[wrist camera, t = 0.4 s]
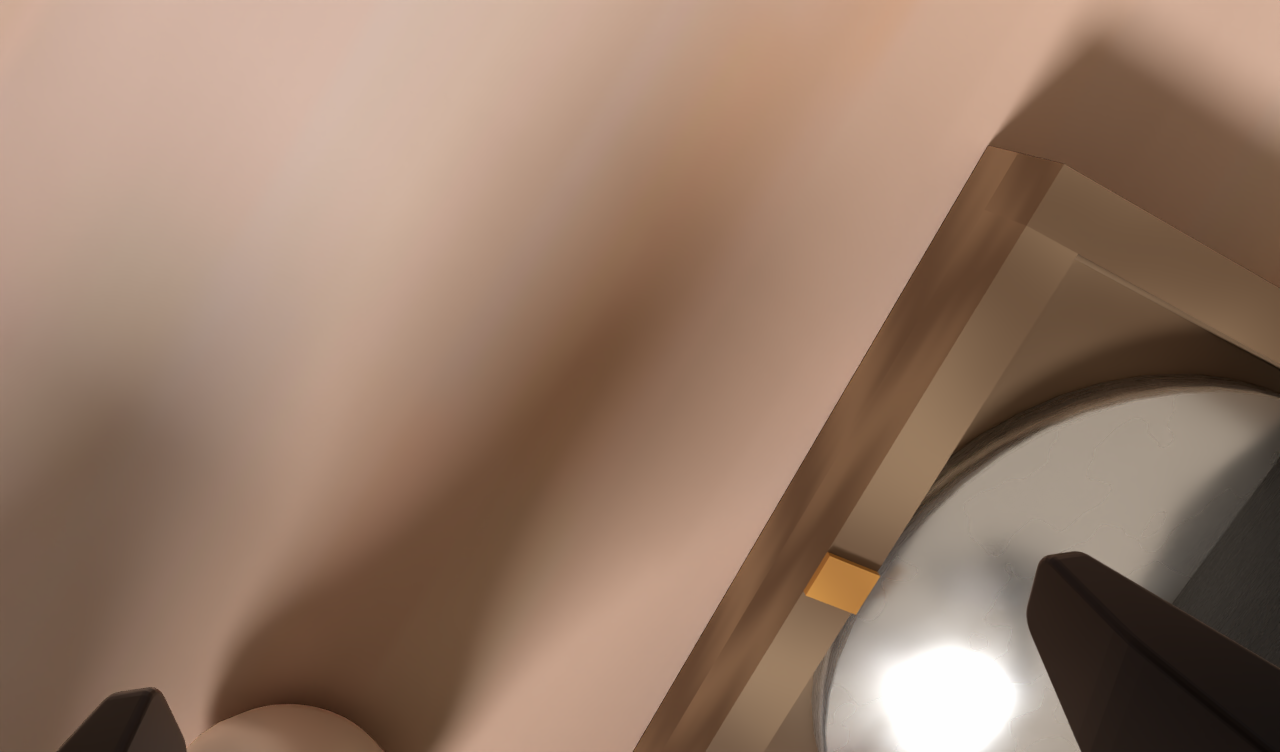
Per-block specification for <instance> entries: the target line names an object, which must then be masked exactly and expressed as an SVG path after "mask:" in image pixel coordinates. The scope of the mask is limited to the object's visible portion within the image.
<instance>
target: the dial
mask: <svg viewBox="0 0 1280 752" xmlns="http://www.w3.org/2000/svg"><path fill="white" fill-rule="evenodd" d="M1071 551H1079V552H1083V553H1085V554H1088V555H1090V556H1091V557H1093V558H1095V559H1096V560H1098V561H1100V562H1101V563H1103V564H1105V565H1107V566H1108V567H1110V568H1112V569H1113V570H1115V571H1117V572H1118V573H1120V574H1122V575H1123V576H1125V577H1127V578H1128V579H1130V580H1132V581H1134V582H1135V583H1137V584H1139V585H1140V586H1142V587H1144V588H1145V589H1147V590H1149V591H1150V592H1152V593H1154V594H1155V595H1157V596H1159V597H1161V598H1162V599H1164V600H1166V601H1167V602H1169V603H1171V604H1172V605H1174V606H1176V607H1177V608H1179V609H1181V610H1183V611H1184V612H1186V613H1188V614H1189V615H1191V616H1193V617H1194V618H1196V619H1198V620H1199V621H1201V622H1203V623H1204V624H1206V625H1208V626H1210V627H1211V628H1213V629H1215V630H1216V631H1218V632H1220V633H1221V634H1223V635H1225V636H1226V637H1228V638H1230V639H1231V640H1233V641H1235V642H1237V643H1238V644H1240V645H1242V646H1243V647H1245V648H1247V649H1248V650H1250V651H1252V652H1253V653H1255V654H1257V655H1259V656H1260V657H1262V658H1264V659H1265V660H1267V661H1269V662H1270V663H1272V664H1274V665H1275V666H1277V667H1279V668H1280V394H1279V393H1276V392H1274V391H1272V390H1269V389H1267V388H1265V387H1262V386H1258V385H1254V384H1250V383H1246V382H1242V381H1239V380H1235V379H1231V378H1227V377H1217V376H1207V375H1196V374H1165V375H1145V376H1139V377H1133V378H1127V379H1121V380H1115V381H1109V382H1103V383H1100V384H1097V385H1093V386H1090V387H1086V388H1083V389H1080V390H1076V391H1073V392H1070V393H1066V394H1063V395H1060V396H1058V397H1055V398H1053V399H1051V400H1048V401H1046V402H1044V403H1041V404H1039V405H1036V406H1034V407H1032V408H1029V409H1027V410H1025V411H1022V412H1020V413H1018V414H1016V415H1015V416H1013V417H1011V418H1009V419H1007V420H1006V421H1004V422H1002V423H1000V424H999V425H997V426H995V427H993V428H991V429H990V430H988V431H986V432H984V433H983V434H981V435H979V436H978V437H976V438H975V439H974V440H972V441H971V442H969V443H968V444H967V445H965V446H964V447H962V448H961V449H960V450H958V451H957V452H955V453H954V454H953V455H951V456H950V458H949V459H948V461H947V463H946V464H945V466H944V467H943V469H942V470H941V472H940V474H939V475H938V477H937V478H936V480H935V482H934V483H933V485H932V486H931V488H930V489H929V491H928V493H927V494H926V496H925V497H924V499H923V501H922V502H921V504H920V505H919V507H918V508H917V510H916V512H915V513H914V515H913V516H912V518H911V520H910V521H909V523H908V524H907V526H906V527H905V529H904V531H903V532H902V534H901V535H900V537H899V539H898V540H897V542H896V543H895V545H894V547H893V548H892V550H891V551H890V553H889V554H888V556H887V558H886V559H885V561H884V562H883V564H882V566H881V567H880V569H879V570H878V573H879V575H880V578H879V579H878V581H877V582H876V584H875V586H874V587H873V589H872V590H871V592H870V593H869V595H868V597H867V598H866V600H865V601H864V603H863V604H862V606H861V608H860V609H859V611H858V612H857V614H856V615H855V614H852V613H851V615H850V616H849V618H848V619H847V621H846V623H845V624H844V626H843V627H842V629H841V630H840V632H839V634H838V635H837V637H836V638H835V640H834V642H833V643H832V645H831V646H830V648H829V649H828V651H827V653H826V654H825V656H824V657H823V659H822V661H821V662H820V664H819V665H818V667H817V669H816V670H815V672H814V675H813V687H812V698H811V702H812V716H813V731H814V736H815V740H816V745H817V749H818V752H1081V750H1080V748H1079V746H1078V744H1077V742H1076V739H1075V737H1074V735H1073V732H1072V730H1071V728H1070V725H1069V723H1068V721H1067V718H1066V716H1065V713H1064V711H1063V709H1062V706H1061V704H1060V702H1059V699H1058V697H1057V695H1056V692H1055V690H1054V688H1053V685H1052V683H1051V681H1050V678H1049V676H1048V674H1047V671H1046V669H1045V667H1044V664H1043V662H1042V660H1041V657H1040V655H1039V653H1038V650H1037V648H1036V646H1035V643H1034V641H1033V639H1032V636H1031V634H1030V631H1029V628H1028V624H1027V618H1026V610H1027V604H1028V601H1029V597H1030V593H1031V589H1032V585H1033V581H1034V578H1035V574H1036V570H1037V566H1038V563H1039V561H1040V560H1041V559H1042V558H1043V557H1044V556H1047V555H1051V554H1058V553H1065V552H1071Z"/></svg>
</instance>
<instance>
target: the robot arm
mask: <svg viewBox="0 0 1280 752" xmlns="http://www.w3.org/2000/svg"><path fill="white" fill-rule="evenodd" d="M1026 618H1027V624H1028V628H1029V631H1030V634H1031V636H1032V639H1033V641H1034V643H1035V646H1036V648H1037V650H1038V653H1039V655H1040V657H1041V660H1042V662H1043V664H1044V667H1045V669H1046V671H1047V674H1048V676H1049V678H1050V681H1051V683H1052V685H1053V688H1054V690H1055V692H1056V695H1057V697H1058V699H1059V702H1060V704H1061V706H1062V709H1063V711H1064V713H1065V716H1066V718H1067V721H1068V723H1069V725H1070V728H1071V730H1072V732H1073V735H1074V737H1075V739H1076V742H1077V744H1078V746H1079V748H1080V750H1081V752H1280V668H1279V667H1277V666H1275V665H1274V664H1272V663H1270V662H1269V661H1267V660H1265V659H1264V658H1262V657H1260V656H1259V655H1257V654H1255V653H1253V652H1252V651H1250V650H1248V649H1247V648H1245V647H1243V646H1242V645H1240V644H1238V643H1237V642H1235V641H1233V640H1231V639H1230V638H1228V637H1226V636H1225V635H1223V634H1221V633H1220V632H1218V631H1216V630H1215V629H1213V628H1211V627H1210V626H1208V625H1206V624H1204V623H1203V622H1201V621H1199V620H1198V619H1196V618H1194V617H1193V616H1191V615H1189V614H1188V613H1186V612H1184V611H1183V610H1181V609H1179V608H1177V607H1176V606H1174V605H1172V604H1171V603H1169V602H1167V601H1166V600H1164V599H1162V598H1161V597H1159V596H1157V595H1155V594H1154V593H1152V592H1150V591H1149V590H1147V589H1145V588H1144V587H1142V586H1140V585H1139V584H1137V583H1135V582H1134V581H1132V580H1130V579H1128V578H1127V577H1125V576H1123V575H1122V574H1120V573H1118V572H1117V571H1115V570H1113V569H1112V568H1110V567H1108V566H1107V565H1105V564H1103V563H1101V562H1100V561H1098V560H1096V559H1095V558H1093V557H1091V556H1090V555H1088V554H1085V553H1083V552H1079V551H1071V552H1065V553H1058V554H1051V555H1047V556H1044V557H1043V558H1042V559H1041V560H1040V561H1039V563H1038V566H1037V570H1036V574H1035V578H1034V581H1033V585H1032V589H1031V593H1030V597H1029V601H1028V604H1027V610H1026ZM56 752H187V751H186V744H185V740H184V737H183V735H182V733H181V731H180V729H179V727H178V725H177V722H176V720H175V718H174V716H173V714H172V712H171V710H170V708H169V706H168V704H167V701H166V699H165V697H164V696H163V694H162V693H161V691H159V690H158V689H156V688H151V687H148V688H141V689H135V690H128V691H121V692H117V693H114V694H112V695H110V696H109V697H107V698H106V699H105V700H104V701H103V702H102V703H101V704H100V705H99V706H98V707H97V708H96V709H95V710H94V711H93V712H92V714H91V715H90V716H89V717H88V718H87V719H86V720H85V721H84V722H83V723H82V724H81V725H80V727H79V728H78V729H77V730H76V731H75V732H74V733H73V734H72V735H71V736H70V737H69V738H68V739H67V741H66V742H65V743H64V744H63V745H62V746H61V747H60V748H59V749H58V750H57V751H56Z"/></svg>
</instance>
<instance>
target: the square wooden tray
mask: <svg viewBox="0 0 1280 752" xmlns="http://www.w3.org/2000/svg"><path fill="white" fill-rule="evenodd" d="M1165 374H1196V375H1207V376H1217V377H1227V378H1231V379H1235V380H1239V381H1242V382H1246V383H1250V384H1254V385H1258V386H1262V387H1265V388H1267V389H1269V390H1272V391H1274V392H1276V393H1279V394H1280V288H1279V287H1277V286H1275V285H1274V284H1272V283H1270V282H1268V281H1267V280H1265V279H1263V278H1262V277H1260V276H1258V275H1256V274H1255V273H1253V272H1251V271H1249V270H1248V269H1246V268H1244V267H1242V266H1241V265H1239V264H1237V263H1236V262H1234V261H1232V260H1230V259H1229V258H1227V257H1225V256H1223V255H1222V254H1220V253H1218V252H1216V251H1215V250H1213V249H1211V248H1210V247H1208V246H1206V245H1204V244H1203V243H1201V242H1199V241H1197V240H1196V239H1194V238H1192V237H1190V236H1189V235H1187V234H1185V233H1183V232H1182V231H1180V230H1178V229H1177V228H1175V227H1173V226H1171V225H1170V224H1168V223H1166V222H1164V221H1163V220H1161V219H1159V218H1157V217H1156V216H1154V215H1152V214H1151V213H1149V212H1147V211H1145V210H1144V209H1142V208H1140V207H1138V206H1137V205H1135V204H1133V203H1131V202H1130V201H1128V200H1126V199H1125V198H1123V197H1121V196H1119V195H1118V194H1116V193H1114V192H1112V191H1111V190H1109V189H1107V188H1105V187H1104V186H1102V185H1100V184H1099V183H1097V182H1095V181H1093V180H1092V179H1090V178H1088V177H1086V176H1085V175H1083V174H1081V173H1079V172H1078V171H1076V170H1074V169H1073V168H1071V167H1069V166H1067V165H1066V164H1063V163H1059V162H1055V161H1051V160H1047V159H1042V158H1038V157H1034V156H1030V155H1026V154H1022V153H1017V152H1013V151H1009V150H1005V149H1001V148H997V147H992V146H988V147H987V149H986V151H985V152H984V154H983V156H982V157H981V159H980V161H979V162H978V164H977V166H976V168H975V169H974V171H973V173H972V174H971V176H970V178H969V180H968V181H967V183H966V185H965V186H964V188H963V190H962V191H961V193H960V195H959V197H958V198H957V200H956V202H955V203H954V205H953V207H952V209H951V210H950V212H949V214H948V215H947V217H946V219H945V221H944V222H943V224H942V226H941V227H940V229H939V231H938V232H937V234H936V236H935V238H934V239H933V241H932V243H931V244H930V246H929V248H928V250H927V251H926V253H925V255H924V256H923V258H922V260H921V261H920V263H919V265H918V267H917V268H916V270H915V272H914V273H913V275H912V277H911V279H910V280H909V282H908V284H907V285H906V287H905V289H904V290H903V292H902V294H901V296H900V297H899V299H898V301H897V302H896V304H895V306H894V308H893V309H892V311H891V313H890V314H889V316H888V318H887V320H886V321H885V323H884V325H883V326H882V328H881V330H880V331H879V333H878V335H877V337H876V338H875V340H874V342H873V343H872V345H871V347H870V349H869V350H868V352H867V354H866V355H865V357H864V359H863V360H862V362H861V364H860V366H859V367H858V369H857V371H856V372H855V374H854V376H853V378H852V379H851V381H850V383H849V384H848V386H847V388H846V390H845V391H844V393H843V395H842V396H841V398H840V400H839V401H838V403H837V405H836V407H835V408H834V410H833V412H832V413H831V415H830V417H829V419H828V420H827V422H826V424H825V425H824V427H823V429H822V430H821V432H820V434H819V436H818V437H817V439H816V441H815V442H814V444H813V446H812V448H811V449H810V451H809V453H808V454H807V456H806V458H805V460H804V461H803V463H802V465H801V466H800V468H799V470H798V471H797V473H796V475H795V477H794V478H793V480H792V482H791V483H790V485H789V487H788V489H787V490H786V492H785V494H784V495H783V497H782V499H781V500H780V502H779V504H778V506H777V507H776V509H775V511H774V512H773V514H772V516H771V518H770V519H769V521H768V523H767V524H766V526H765V528H764V529H763V531H762V533H761V535H760V536H759V538H758V540H757V541H756V543H755V545H754V547H753V548H752V550H751V552H750V553H749V555H748V557H747V559H746V560H745V562H744V564H743V565H742V567H741V569H740V570H739V572H738V574H737V576H736V577H735V579H734V581H733V582H732V584H731V586H730V588H729V589H728V591H727V593H726V594H725V596H724V598H723V599H722V601H721V603H720V605H719V606H718V608H717V610H716V611H715V613H714V615H713V617H712V618H711V620H710V622H709V623H708V625H707V627H706V629H705V630H704V632H703V634H702V635H701V637H700V639H699V640H698V642H697V644H696V646H695V647H694V649H693V651H692V652H691V654H690V656H689V658H688V659H687V661H686V663H685V664H684V666H683V668H682V669H681V671H680V673H679V675H678V676H677V678H676V680H675V681H674V683H673V685H672V687H671V688H670V690H669V692H668V693H667V695H666V697H665V699H664V700H663V702H662V704H661V705H660V707H659V709H658V710H657V712H656V714H655V716H654V717H653V719H652V721H651V722H650V724H649V726H648V728H647V729H646V731H645V733H644V734H643V736H642V738H641V739H640V741H639V743H638V745H637V746H636V748H635V750H634V751H633V752H818V749H817V745H816V740H815V736H814V731H813V716H812V702H811V698H812V687H813V675H814V672H815V670H816V669H817V667H818V665H819V664H820V662H821V661H822V659H823V657H824V656H825V654H826V653H827V651H828V649H829V648H830V646H831V645H832V643H833V642H834V640H835V638H836V637H837V635H838V634H839V632H840V630H841V629H842V627H843V626H844V624H845V623H846V621H847V619H848V618H849V616H850V615H851V613H852V614H855V615H856V614H857V612H858V611H859V609H860V608H861V606H862V604H863V603H864V601H865V600H866V598H867V597H868V595H869V593H870V592H871V590H872V589H873V587H874V586H875V584H876V582H877V581H878V579H879V578H880V575H879V573H878V570H879V569H880V567H881V566H882V564H883V562H884V561H885V559H886V558H887V556H888V554H889V553H890V551H891V550H892V548H893V547H894V545H895V543H896V542H897V540H898V539H899V537H900V535H901V534H902V532H903V531H904V529H905V527H906V526H907V524H908V523H909V521H910V520H911V518H912V516H913V515H914V513H915V512H916V510H917V508H918V507H919V505H920V504H921V502H922V501H923V499H924V497H925V496H926V494H927V493H928V491H929V489H930V488H931V486H932V485H933V483H934V482H935V480H936V478H937V477H938V475H939V474H940V472H941V470H942V469H943V467H944V466H945V464H946V463H947V461H948V459H949V458H950V456H951V455H953V454H954V453H955V452H957V451H958V450H960V449H961V448H962V447H964V446H965V445H967V444H968V443H969V442H971V441H972V440H974V439H975V438H976V437H978V436H979V435H981V434H983V433H984V432H986V431H988V430H990V429H991V428H993V427H995V426H997V425H999V424H1000V423H1002V422H1004V421H1006V420H1007V419H1009V418H1011V417H1013V416H1015V415H1016V414H1018V413H1020V412H1022V411H1025V410H1027V409H1029V408H1032V407H1034V406H1036V405H1039V404H1041V403H1044V402H1046V401H1048V400H1051V399H1053V398H1055V397H1058V396H1060V395H1063V394H1066V393H1070V392H1073V391H1076V390H1080V389H1083V388H1086V387H1090V386H1093V385H1097V384H1100V383H1103V382H1109V381H1115V380H1121V379H1127V378H1133V377H1139V376H1145V375H1165Z"/></svg>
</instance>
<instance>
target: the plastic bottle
mask: <svg viewBox="0 0 1280 752" xmlns="http://www.w3.org/2000/svg"><path fill="white" fill-rule="evenodd" d="M186 751H187V752H384V751H383V750H382V749H381V747H380V746H379V745H378V744H377V743H376V742H375V741H374V740H373V739H372V738H371V737H370V736H369V735H368V734H367V733H366V732H365V731H364V730H363V729H362V728H360V727H359V726H357V725H356V724H354V723H353V722H351V721H350V720H348V719H347V718H345V717H343V716H340V715H338V714H336V713H334V712H331V711H329V710H325V709H321V708H317V707H313V706H308V705H298V704H278V705H269V706H264V707H259V708H255V709H251V710H249V711H246V712H243V713H241V714H238V715H236V716H233V717H231V718H228V719H226V720H223V721H221V722H219V723H217V724H215V725H214V726H212V727H211V728H209V729H208V730H206V731H205V732H203V733H202V734H200V735H199V736H198V737H197V738H196V739H195V740H194V741H193V742H192V743H191V744H190V745H189V746H188V747H187V748H186Z"/></svg>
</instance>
